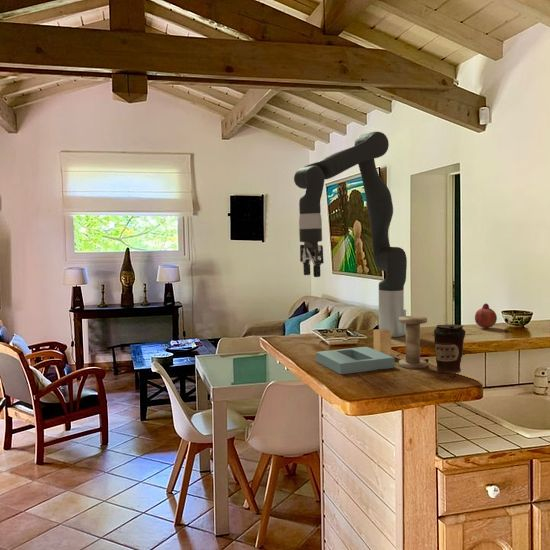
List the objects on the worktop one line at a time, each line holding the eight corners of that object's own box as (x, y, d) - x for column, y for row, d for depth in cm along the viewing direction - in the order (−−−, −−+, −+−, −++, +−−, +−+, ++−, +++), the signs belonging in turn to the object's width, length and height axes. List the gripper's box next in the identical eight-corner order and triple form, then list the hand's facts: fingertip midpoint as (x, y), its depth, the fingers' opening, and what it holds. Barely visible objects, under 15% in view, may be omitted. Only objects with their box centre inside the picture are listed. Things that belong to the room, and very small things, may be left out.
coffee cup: (460, 377, 145) (461, 329, 144) (429, 373, 149) (429, 327, 148) (467, 369, 152) (468, 324, 151) (438, 366, 156) (438, 322, 155)
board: (366, 355, 171) (366, 346, 171) (394, 367, 156) (394, 357, 156) (316, 361, 165) (316, 352, 165) (340, 374, 150) (340, 363, 150)
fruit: (470, 327, 215) (470, 302, 214) (488, 326, 217) (488, 301, 216) (482, 331, 207) (483, 305, 207) (501, 329, 209) (501, 304, 209)
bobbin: (416, 360, 163) (416, 315, 162) (432, 366, 156) (432, 319, 155) (393, 363, 160) (393, 317, 159) (409, 369, 153) (409, 321, 152)
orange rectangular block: (384, 353, 174) (384, 328, 174) (391, 355, 171) (391, 330, 170) (373, 354, 173) (373, 329, 172) (380, 356, 169) (380, 331, 169)
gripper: (329, 226, 173) (331, 276, 175) (312, 227, 187) (313, 273, 188) (308, 227, 171) (309, 278, 173) (292, 228, 184) (293, 275, 186)
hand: (311, 275), depth 180 cm, fingers open, 8 cm apart
